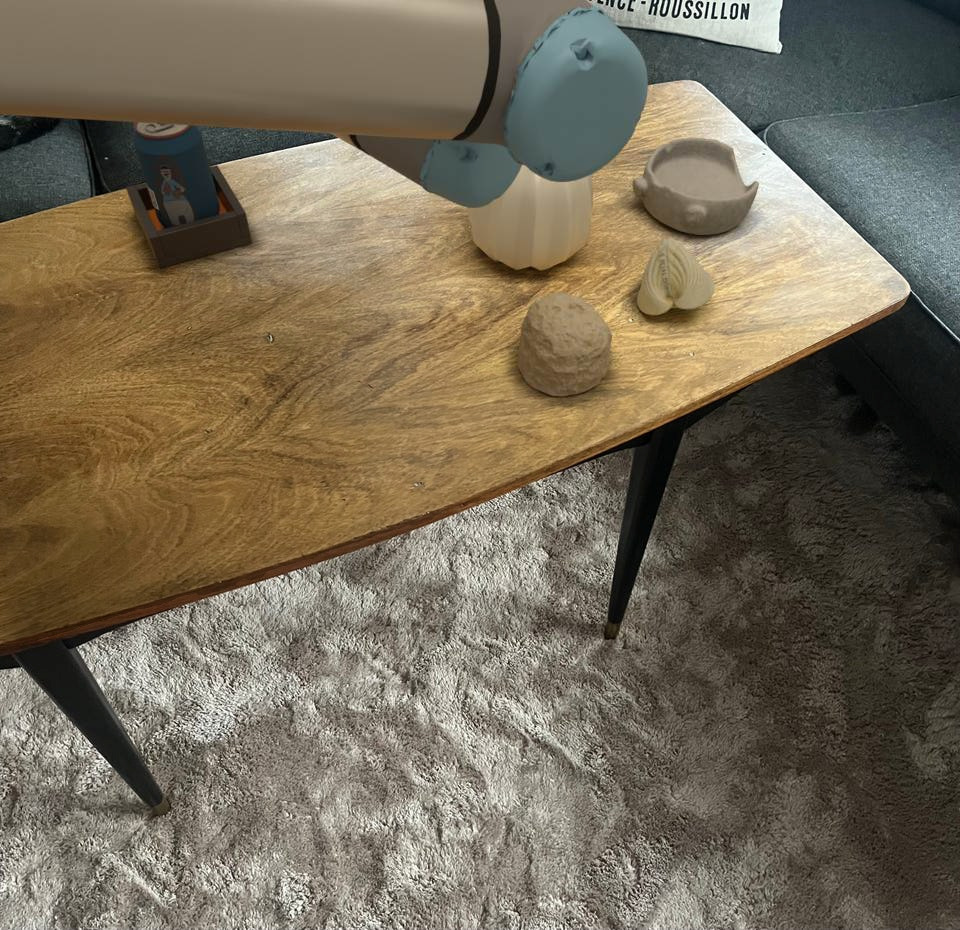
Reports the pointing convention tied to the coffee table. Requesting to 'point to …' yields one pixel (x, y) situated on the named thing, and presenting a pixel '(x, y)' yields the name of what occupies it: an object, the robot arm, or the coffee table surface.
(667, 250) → the seashell
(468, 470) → the coffee table surface
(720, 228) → the dish
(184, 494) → the coffee table surface
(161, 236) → the square wooden tray
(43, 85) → the robot arm
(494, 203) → the vase
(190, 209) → the soda can
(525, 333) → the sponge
